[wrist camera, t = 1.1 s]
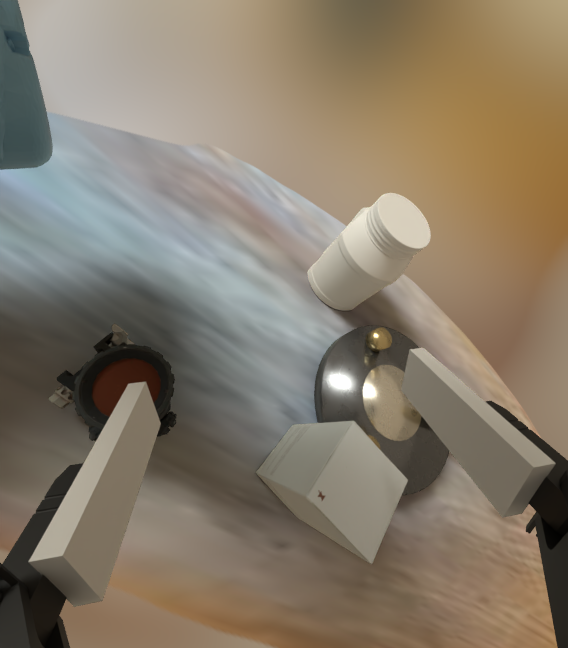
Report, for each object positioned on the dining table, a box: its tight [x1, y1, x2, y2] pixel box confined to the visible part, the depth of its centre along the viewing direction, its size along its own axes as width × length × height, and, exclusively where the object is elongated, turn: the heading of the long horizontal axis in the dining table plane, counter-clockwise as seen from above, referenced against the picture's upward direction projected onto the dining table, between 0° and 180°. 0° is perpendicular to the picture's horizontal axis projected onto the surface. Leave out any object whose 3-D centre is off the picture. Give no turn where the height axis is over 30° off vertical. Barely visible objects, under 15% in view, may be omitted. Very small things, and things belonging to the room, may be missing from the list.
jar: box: [307, 193, 430, 311], centre depth 39 cm, size 12×10×15 cm
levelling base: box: [314, 326, 449, 495], centre depth 37 cm, size 22×22×6 cm
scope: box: [49, 324, 176, 441], centre depth 22 cm, size 8×14×10 cm
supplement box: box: [256, 421, 408, 564], centre depth 26 cm, size 7×7×13 cm
